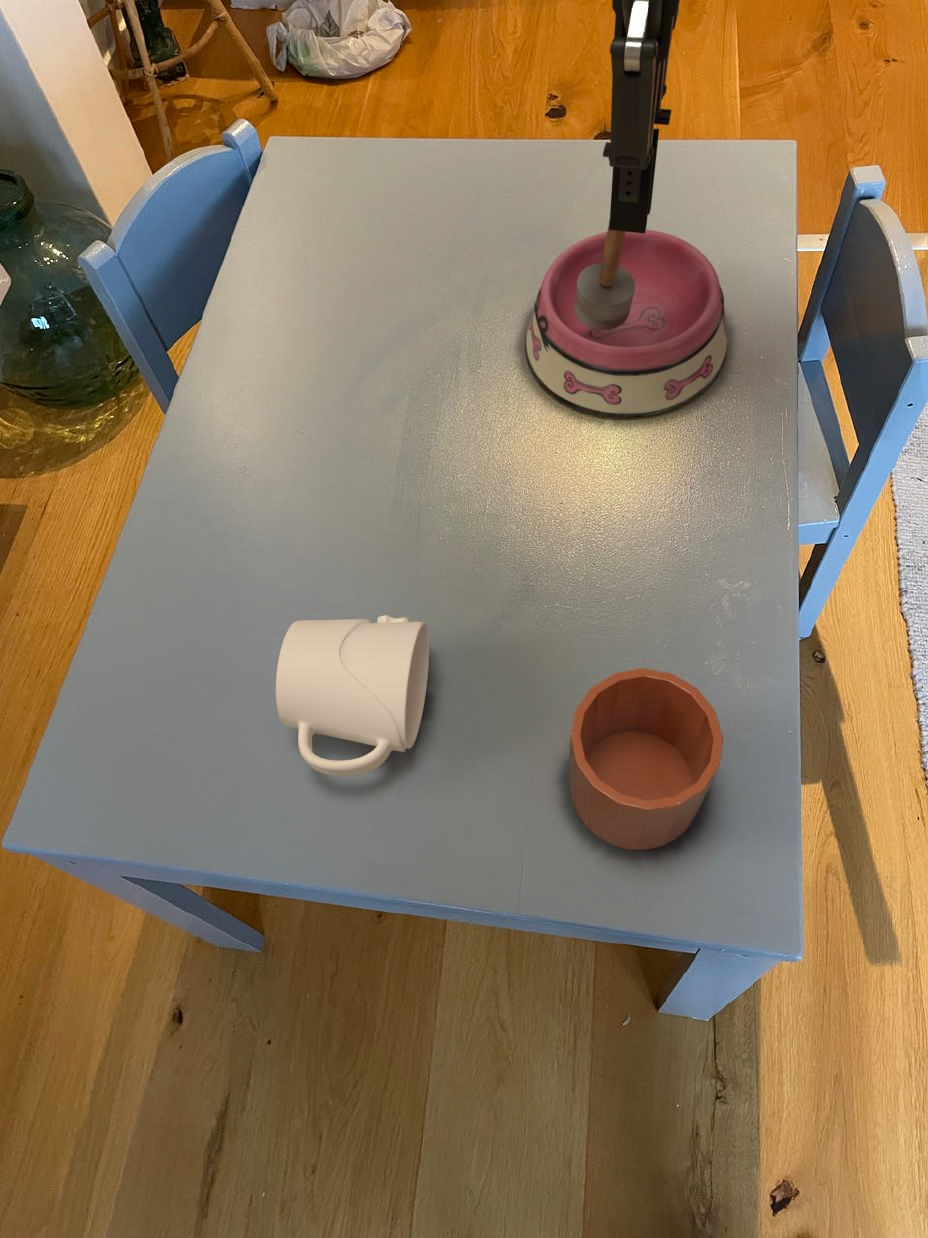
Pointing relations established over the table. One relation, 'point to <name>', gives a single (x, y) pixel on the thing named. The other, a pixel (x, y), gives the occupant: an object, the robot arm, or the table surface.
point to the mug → (353, 686)
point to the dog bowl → (631, 331)
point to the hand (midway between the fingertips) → (630, 218)
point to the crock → (642, 757)
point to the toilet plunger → (605, 288)
